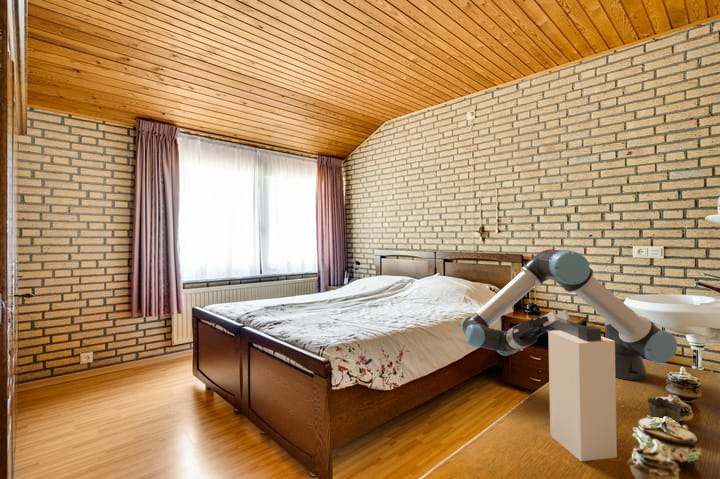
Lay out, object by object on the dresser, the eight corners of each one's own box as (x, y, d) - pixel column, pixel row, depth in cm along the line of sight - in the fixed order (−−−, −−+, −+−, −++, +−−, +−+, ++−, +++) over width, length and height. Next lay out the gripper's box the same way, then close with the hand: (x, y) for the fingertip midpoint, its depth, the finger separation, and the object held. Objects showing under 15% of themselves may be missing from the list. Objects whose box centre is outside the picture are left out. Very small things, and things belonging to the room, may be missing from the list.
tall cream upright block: (582, 432, 104) (580, 328, 104) (616, 457, 92) (614, 340, 92) (550, 435, 103) (548, 330, 103) (581, 461, 91) (578, 343, 91)
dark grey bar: (550, 322, 113) (550, 312, 112) (601, 340, 93) (600, 328, 93) (538, 322, 112) (538, 313, 112) (586, 341, 92) (586, 329, 92)
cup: (642, 426, 106) (641, 399, 106) (657, 421, 109) (656, 394, 109) (672, 439, 100) (671, 410, 100) (687, 433, 103) (686, 405, 102)
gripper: (547, 345, 124) (591, 326, 104) (503, 348, 122) (539, 329, 102) (540, 323, 128) (581, 301, 107) (497, 326, 126) (531, 303, 105)
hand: (561, 314), depth 105 cm, fingers closed on dark grey bar, 3 cm apart
